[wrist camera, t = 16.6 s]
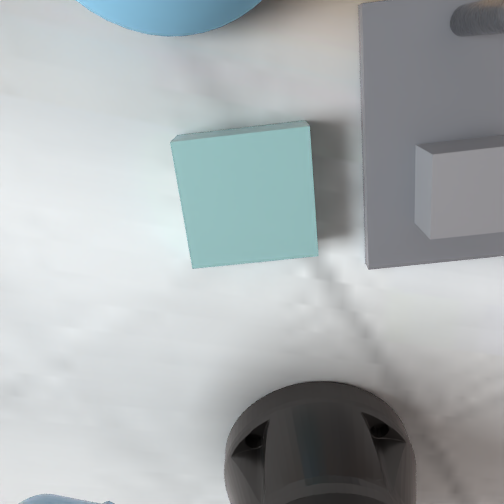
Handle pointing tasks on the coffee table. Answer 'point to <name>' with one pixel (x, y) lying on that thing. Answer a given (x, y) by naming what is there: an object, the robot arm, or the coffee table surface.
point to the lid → (247, 194)
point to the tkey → (478, 18)
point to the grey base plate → (430, 135)
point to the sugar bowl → (170, 14)
